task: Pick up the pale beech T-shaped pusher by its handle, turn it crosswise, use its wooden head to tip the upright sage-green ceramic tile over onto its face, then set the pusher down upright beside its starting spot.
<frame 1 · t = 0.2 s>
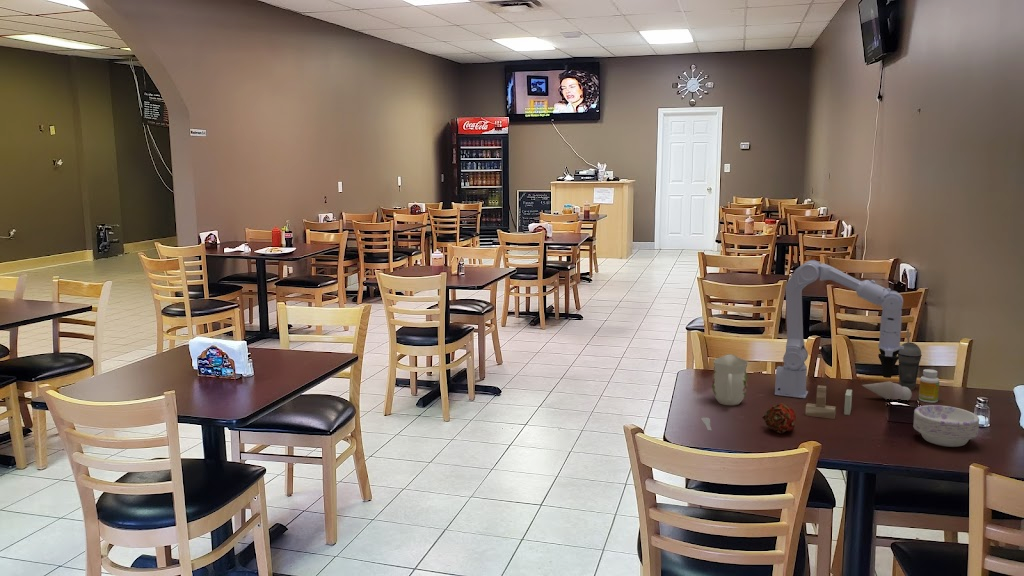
hand: (887, 374, 236), 10 cm above the table, fingers open, 7 cm apart
beverage cup: (907, 388, 257), on the table
pusher: (820, 415, 229), on the table
pitcher: (728, 403, 242), on the table
ice cream cone: (885, 400, 244), on the table
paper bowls: (944, 442, 206), on the table
supplement bottle: (928, 401, 243), on the table
tile: (847, 411, 233), on the table
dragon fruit: (779, 431, 216), on the table
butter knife: (710, 432, 216), on the table
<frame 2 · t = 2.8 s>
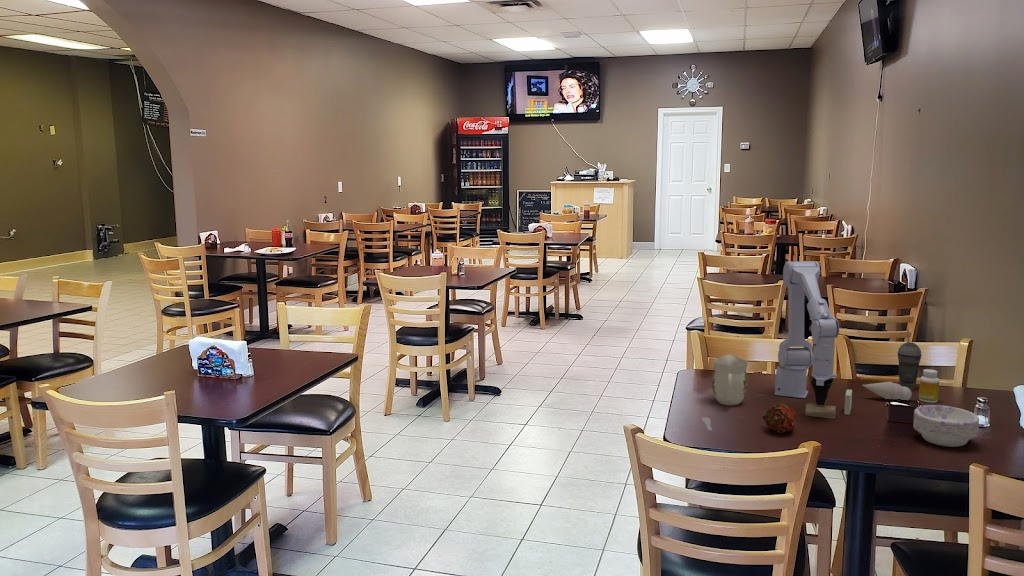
hand: (820, 403, 228), 4 cm above the table, fingers closed on pusher, 2 cm apart
pusher: (820, 415, 229), on the table, touching gripper
everything else where it was.
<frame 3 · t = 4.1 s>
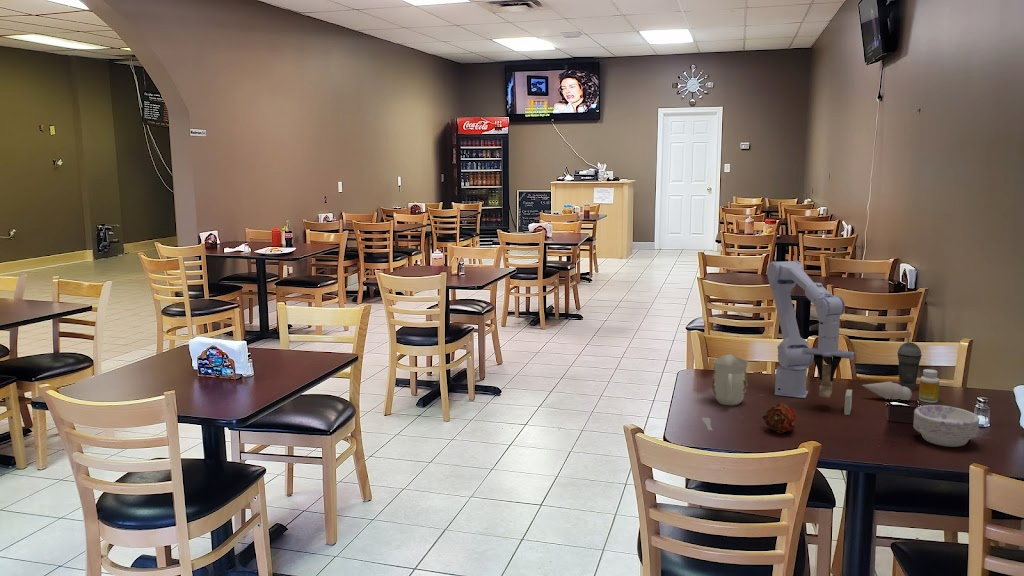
hand: (826, 379, 234), 9 cm above the table, fingers closed on pusher, 2 cm apart
pusher: (825, 394, 235), point 5 cm above the table, touching gripper
everything else where it was.
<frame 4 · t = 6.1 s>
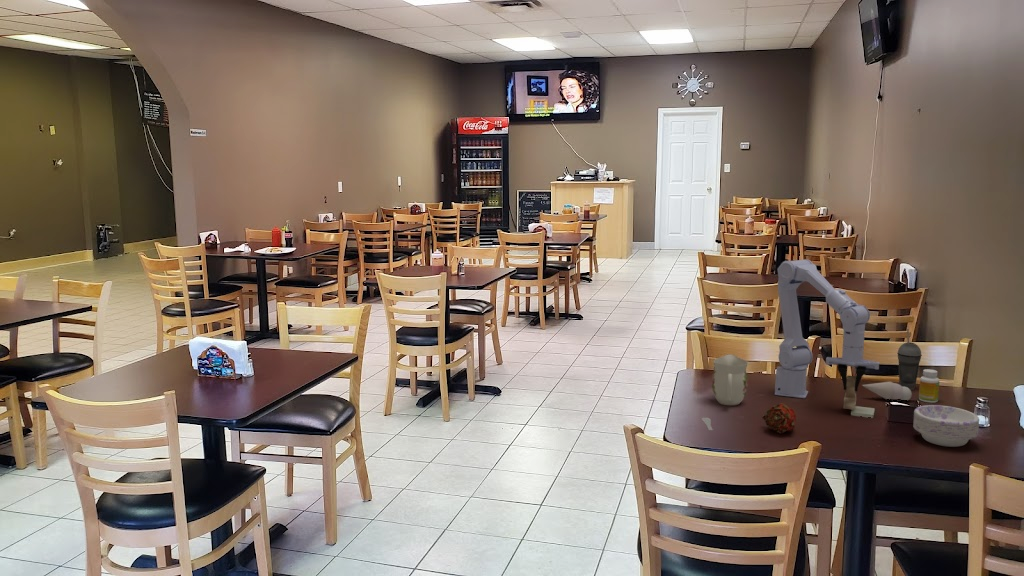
hand: (850, 389, 231), 7 cm above the table, fingers closed on pusher, 2 cm apart
pusher: (849, 405, 232), point 2 cm above the table, touching gripper
tile: (851, 411, 232), on the table, tilted 90°
everything else where it was.
when the fingers open (5 cm above the table, at t = 8.8 s): pusher stays where it is, on the table.
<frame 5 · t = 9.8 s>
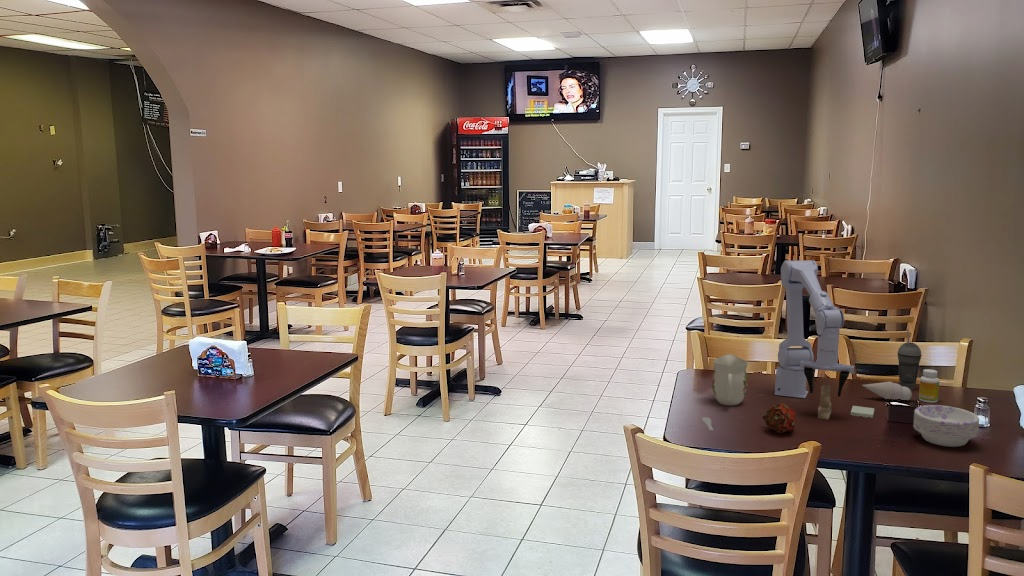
hand: (825, 394, 228), 6 cm above the table, fingers open, 7 cm apart
pusher: (824, 415, 229), on the table
everything else where it was.
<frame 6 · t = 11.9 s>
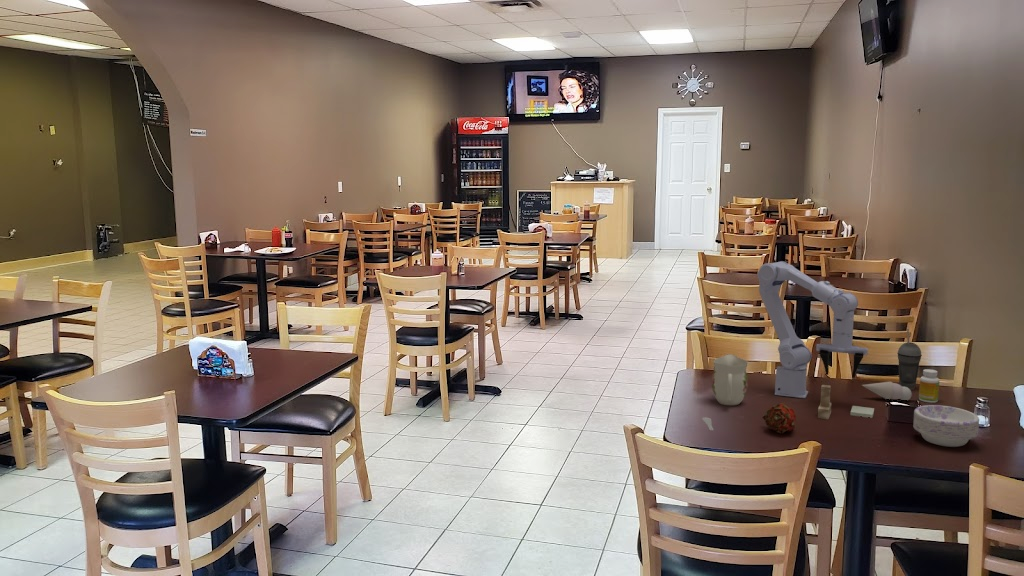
hand: (840, 375, 238), 9 cm above the table, fingers open, 7 cm apart
nothing on the table moved.
at the end: tile tilted 90°; the gripper is holding nothing; pusher inside the target area (0.3 cm from its centre), on the table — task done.
